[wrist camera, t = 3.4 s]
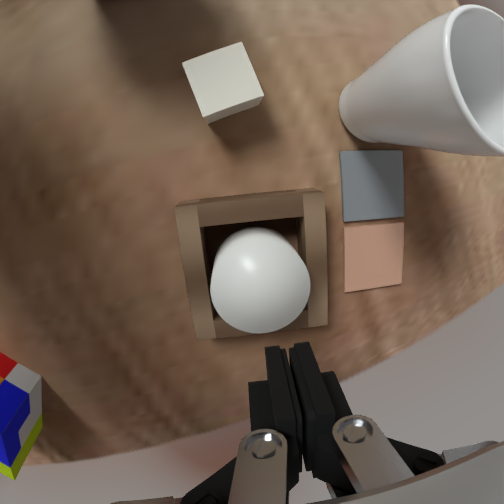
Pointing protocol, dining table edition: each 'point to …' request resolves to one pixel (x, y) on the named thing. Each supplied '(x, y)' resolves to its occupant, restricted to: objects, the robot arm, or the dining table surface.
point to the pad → (373, 255)
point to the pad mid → (372, 184)
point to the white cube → (223, 82)
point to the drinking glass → (435, 87)
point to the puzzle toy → (18, 414)
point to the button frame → (246, 210)
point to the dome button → (258, 281)
